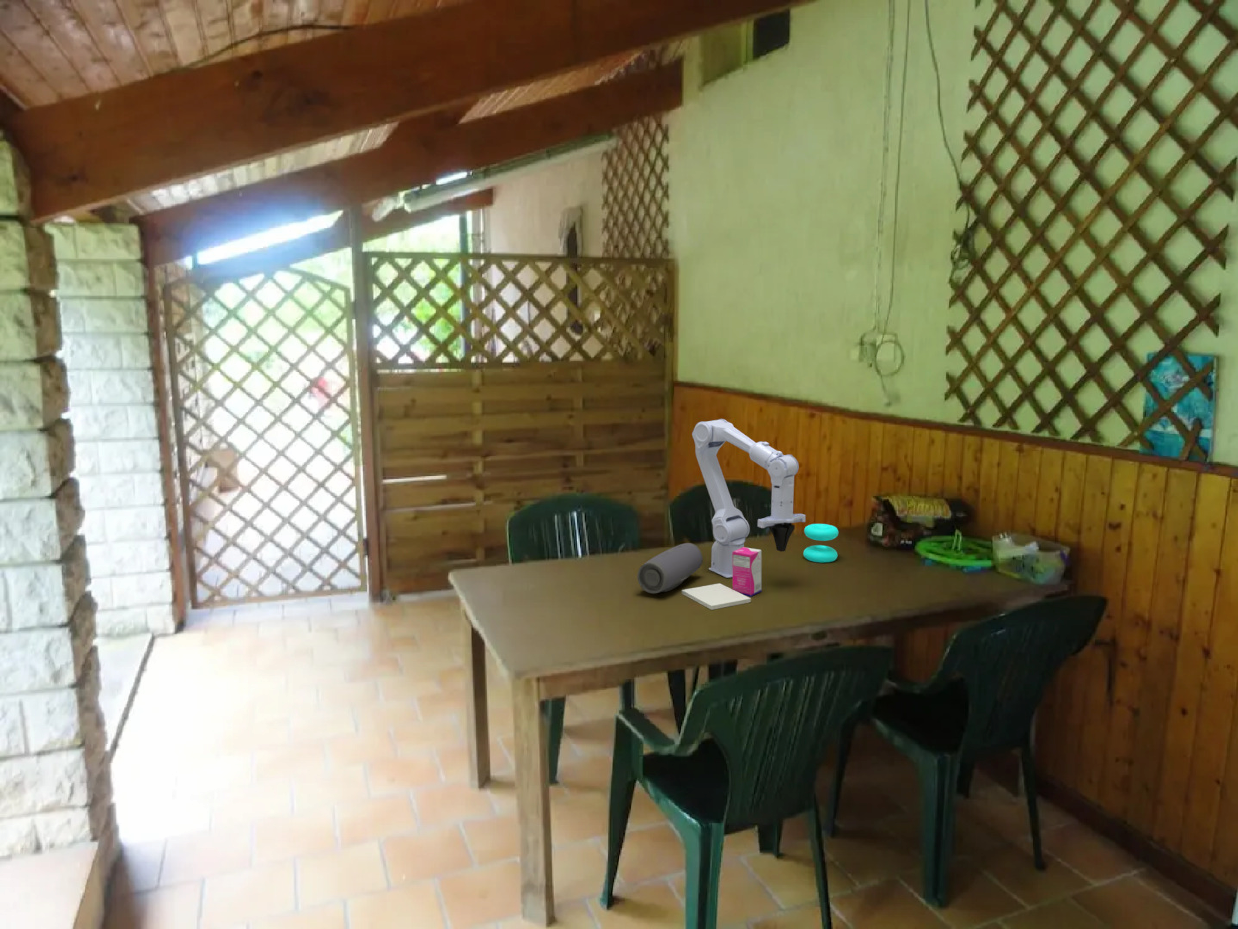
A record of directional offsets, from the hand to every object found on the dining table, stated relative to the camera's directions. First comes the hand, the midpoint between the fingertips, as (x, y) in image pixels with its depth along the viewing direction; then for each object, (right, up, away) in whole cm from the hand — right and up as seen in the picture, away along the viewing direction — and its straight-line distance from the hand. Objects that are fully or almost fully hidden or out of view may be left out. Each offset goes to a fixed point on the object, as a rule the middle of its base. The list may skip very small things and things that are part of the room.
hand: (781, 550), depth 221 cm
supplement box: (-10, -11, -3) cm, 15 cm away
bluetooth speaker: (-30, -10, +2) cm, 31 cm away
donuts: (+17, -6, +27) cm, 33 cm away
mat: (-18, -12, -8) cm, 23 cm away
